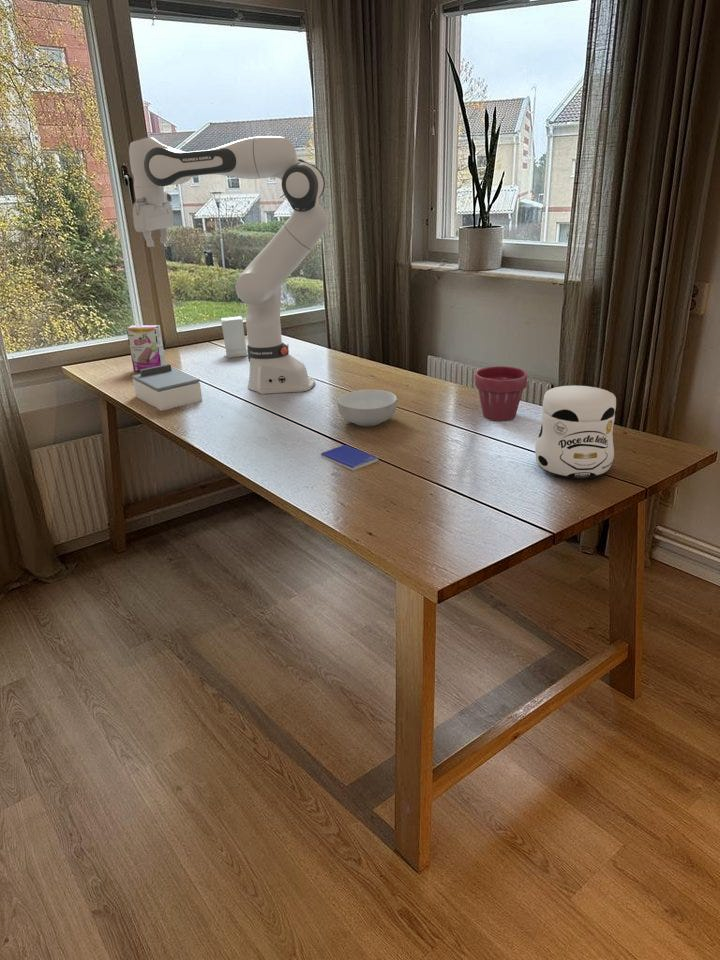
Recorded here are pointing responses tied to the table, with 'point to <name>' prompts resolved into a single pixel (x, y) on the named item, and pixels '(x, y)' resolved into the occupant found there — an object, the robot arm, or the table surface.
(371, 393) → the cereal bowl
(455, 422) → the table surface
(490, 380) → the plant pot
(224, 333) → the skincare box
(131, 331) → the candy bar box
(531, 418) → the table surface
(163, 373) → the grey flat rectangular panel
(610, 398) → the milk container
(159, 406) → the base
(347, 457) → the blue book
